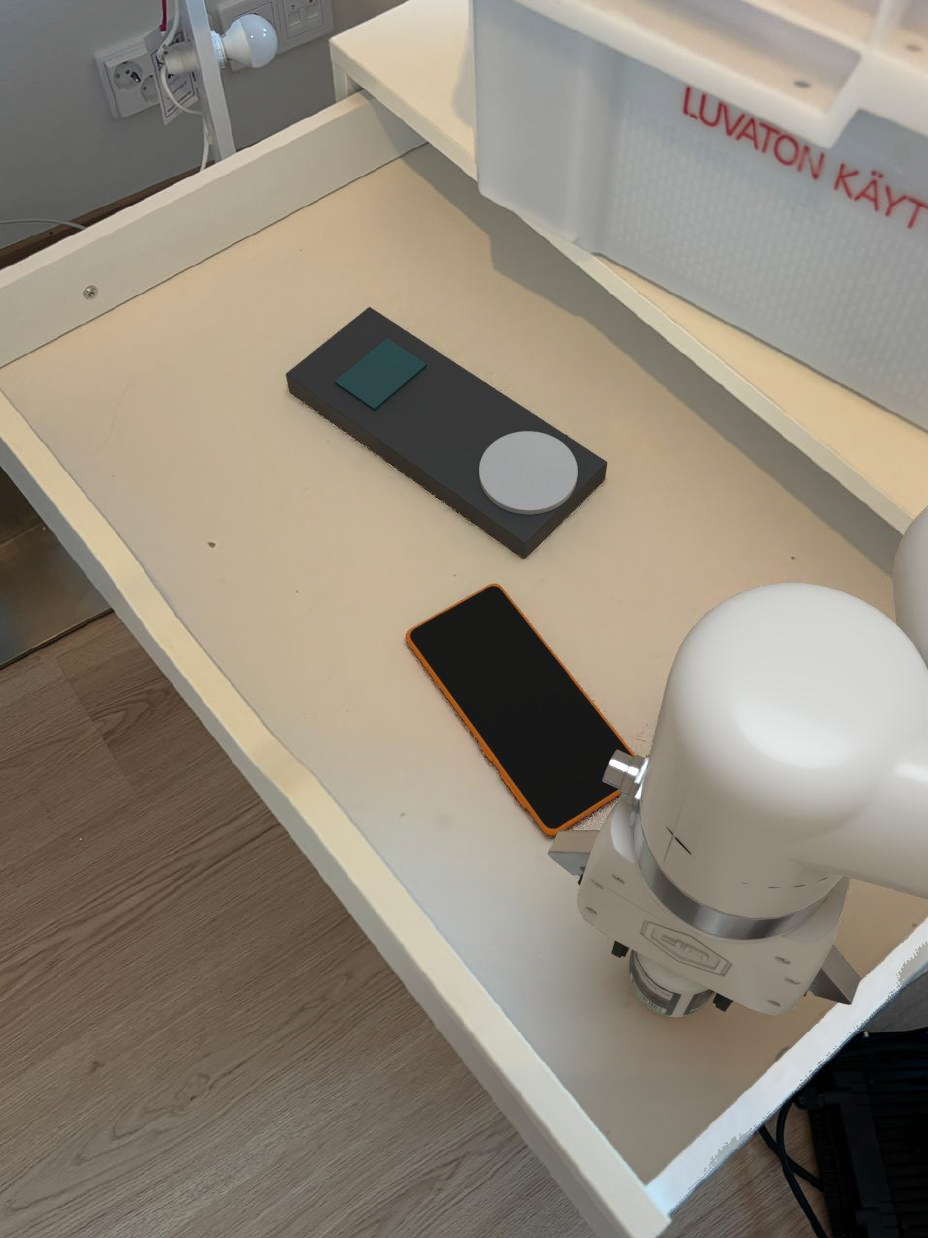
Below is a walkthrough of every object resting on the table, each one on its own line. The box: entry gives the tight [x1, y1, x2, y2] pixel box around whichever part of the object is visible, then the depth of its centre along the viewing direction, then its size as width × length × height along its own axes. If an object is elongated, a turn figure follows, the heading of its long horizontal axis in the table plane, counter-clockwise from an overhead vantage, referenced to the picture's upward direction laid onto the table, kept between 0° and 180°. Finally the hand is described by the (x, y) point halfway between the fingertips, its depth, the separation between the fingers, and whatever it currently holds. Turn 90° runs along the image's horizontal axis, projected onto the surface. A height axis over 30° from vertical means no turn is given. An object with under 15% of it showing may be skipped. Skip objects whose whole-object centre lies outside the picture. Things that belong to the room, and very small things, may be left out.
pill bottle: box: [627, 949, 716, 1018], centre depth 57 cm, size 5×5×8 cm
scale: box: [285, 306, 609, 559], centre depth 82 cm, size 23×9×3 cm, turn 49°
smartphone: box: [405, 583, 636, 837], centre depth 72 cm, size 8×17×1 cm, turn 33°
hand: (679, 954), depth 57 cm, fingers closed on pill bottle, 4 cm apart
